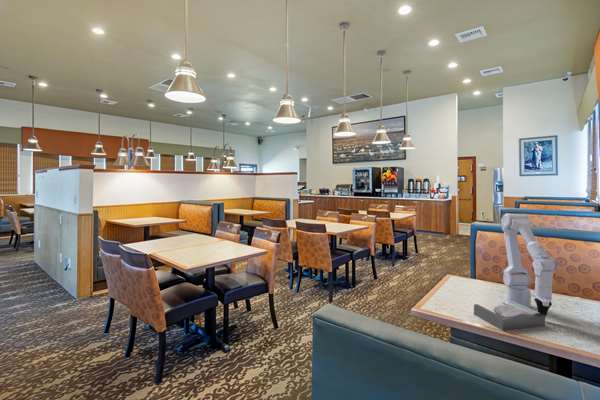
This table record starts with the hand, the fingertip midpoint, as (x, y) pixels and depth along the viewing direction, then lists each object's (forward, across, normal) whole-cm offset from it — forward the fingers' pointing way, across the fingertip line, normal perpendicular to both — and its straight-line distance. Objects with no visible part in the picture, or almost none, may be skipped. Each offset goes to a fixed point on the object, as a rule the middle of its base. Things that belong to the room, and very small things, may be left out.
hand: (542, 316), depth 132 cm
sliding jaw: (+1, 0, -6) cm, 7 cm away
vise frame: (+2, +7, -13) cm, 14 cm away
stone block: (+2, +3, -12) cm, 12 cm away
